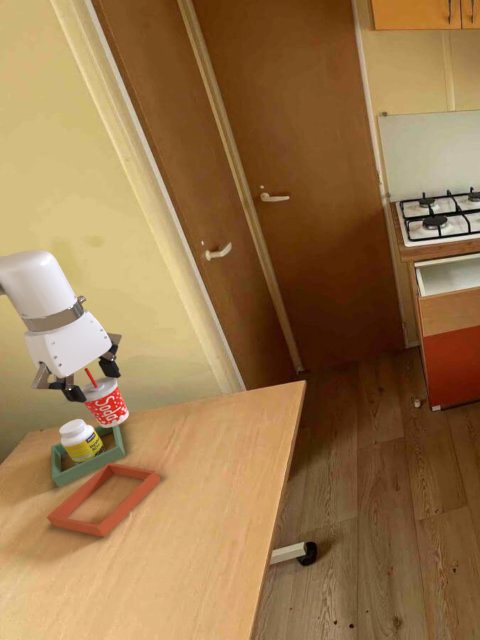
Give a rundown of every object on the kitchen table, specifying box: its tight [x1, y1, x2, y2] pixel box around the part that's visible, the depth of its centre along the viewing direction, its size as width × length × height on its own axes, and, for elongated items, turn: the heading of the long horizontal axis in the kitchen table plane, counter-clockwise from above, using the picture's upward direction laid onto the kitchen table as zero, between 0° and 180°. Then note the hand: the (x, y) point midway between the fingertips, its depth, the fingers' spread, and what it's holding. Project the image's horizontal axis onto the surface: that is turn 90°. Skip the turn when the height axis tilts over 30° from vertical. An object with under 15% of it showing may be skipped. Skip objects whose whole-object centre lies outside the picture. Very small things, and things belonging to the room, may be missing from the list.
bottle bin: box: [50, 424, 126, 488], centre depth 97 cm, size 11×11×4 cm
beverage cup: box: [80, 367, 130, 428], centre depth 86 cm, size 6×6×14 cm
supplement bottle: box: [58, 418, 106, 465], centre depth 96 cm, size 5×5×10 cm
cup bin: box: [46, 462, 161, 538], centre depth 88 cm, size 12×12×4 cm
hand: (96, 387), depth 86 cm, fingers closed on beverage cup, 6 cm apart
